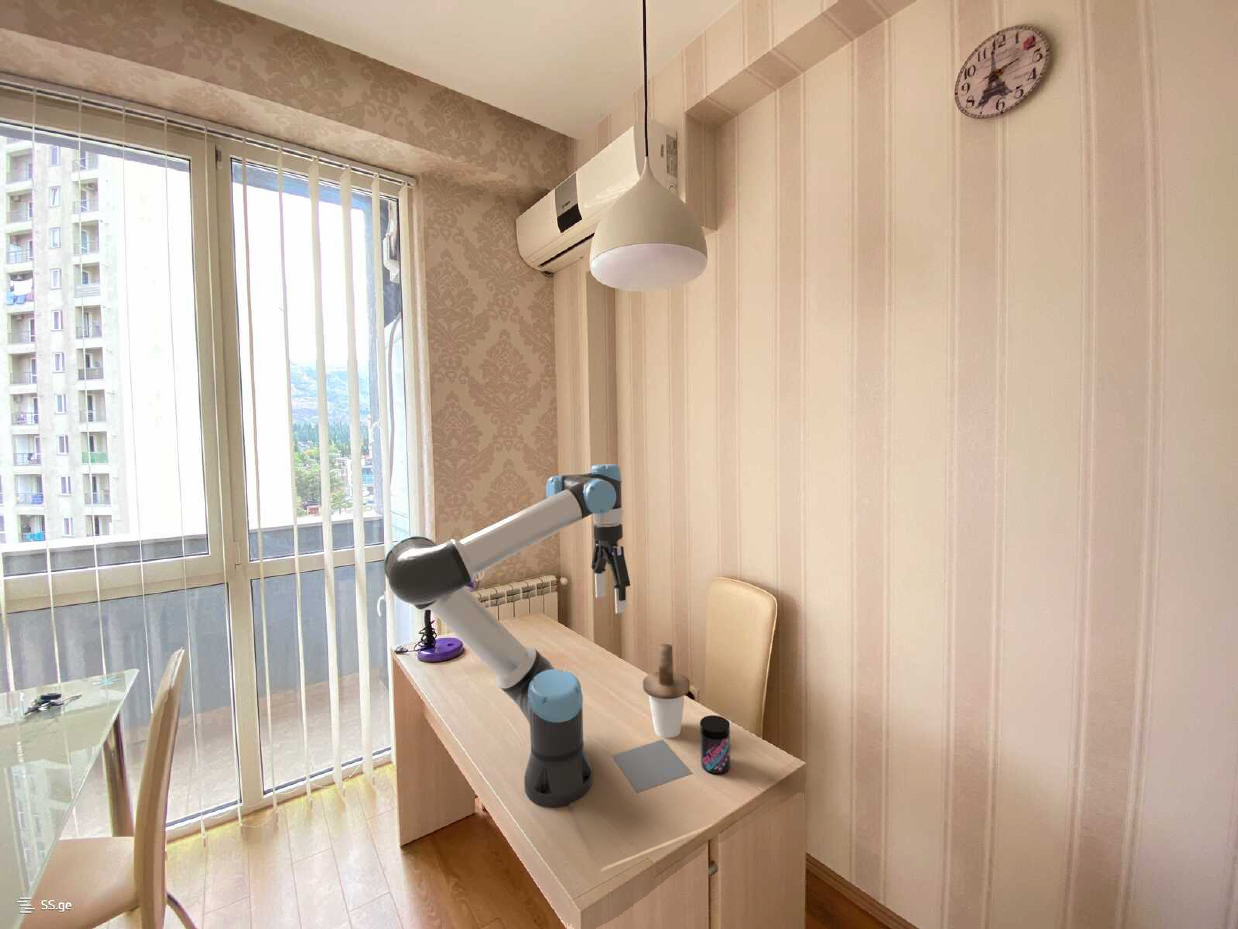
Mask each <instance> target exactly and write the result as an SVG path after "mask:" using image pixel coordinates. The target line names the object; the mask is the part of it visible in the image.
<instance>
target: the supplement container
mask: <svg viewBox="0 0 1238 929" xmlns="http://www.w3.org/2000/svg"><path fill="white" fill-rule="evenodd" d="M699 726H700V727H699V731H700V763H701V764H700V765H701V767H702V769H703V771H705V772H706V773H708V774H710V775H716V776H721V775H725V774H727V773H728V772H729V771H730V769H731V724H730V721H729V720H728V719H726V718H725V717H723V716H720V715H712V714H711V715H707V716H704V717H702V718H701V720H700V721H699Z"/></svg>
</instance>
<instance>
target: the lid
mask: <svg viewBox="0 0 1238 929" xmlns="http://www.w3.org/2000/svg"><path fill="white" fill-rule="evenodd" d="M657 647H658V648H657V649H658V652H657V653H658V654H657V655H658V656H657V657H658V671H655V672H652V673H649V674H648V675H646V676H645V677H644V679H643V680H642V689H643V691H644V693H645V694H647V695H648V696H649V695H650V696H653V697H656V698H660V699H674V698H679V697H682V696H684V697H685V696H686V695H687V694H688V693H689V692H690V689H691V682H690V679H689V678H688V677H687V676H686V675H684V674H683V673H679V672H676V671H674V666H673V665H674V663H673V662H674V661H673V658H674V657H673V654H674V653H673V652H674V651H673V646H672V645H671V644H669V643H663V644H660V645H658V646H657Z"/></svg>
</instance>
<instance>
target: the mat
mask: <svg viewBox="0 0 1238 929" xmlns="http://www.w3.org/2000/svg"><path fill="white" fill-rule="evenodd" d="M611 758H612V759H613V761H614V762H615V763H616V766H618V767H619V769H620V770H621V772H622V773H623V775H624V777H625V778H626V779H627V781H628V782H629V784H630V785H631V786H632V789H634V791H635V792H636V794H638V793H641V792H644V791H647V790H650V789H652V788H655V787H658V786H661V785H664V784H666V783H669V782H670V783H671V782H672V781H676V780H678V779H681V778H683V777H687V776H690V775H692V774H693V772H692V770H691V769H690V768H689V767H688V766H687V764H685V763H684V761H683V760H682V759H681V758H680V757H679V756H678V755H677V753H676V752H675V751H674V750H673V749H672V748H671V747H670V746H669V745H668V743H667V742H665V740H664V739H660V740H657V741H653V742H650V743H647V744H645V745H641V746H640V745H639V746H637V747H634V748H631V749H628V750H624V751H622V752H617V753H615V754H612V755H611Z"/></svg>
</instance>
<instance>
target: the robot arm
mask: <svg viewBox="0 0 1238 929" xmlns="http://www.w3.org/2000/svg"><path fill="white" fill-rule="evenodd" d="M622 483H623V482H622V475H621V468H620V466H619V465H618V464H614V463H606V464H605V463H604V464H601V463H600V464H592V465H591V470H590V472H589V473H581V474H579V473H578V474H566V475H563V474H560V475H555V476H551V477H549V478H548V480H547V482H546V485H545V492H546V493H545V494H546V498H545V499H543V500H541V501H539V502H538V503H535V504H533V505H530V506H529V507H526V508H524V509H523V510H521V511H518V512H516V513H514V514H513V515H510V516H508V517H506V518H504V519H502V520H500V521H498V522H496V523H493V524H492V525H489V526H488V527H485V528H484V529H481V530H479V531H477V532H475V533H473V534H471V535H469V536H467V537H465V538H462V539H460V540H457V539H453V538H451V539H449V540H447V541H444V542H443V543H440V544H437V543H436V542H435V541H433V540H432V539H429V538H428V537H425V536H422V535H421V536H420V535H410V536H406V537H404V538H402V539H399V540H397V541H396V542H395V543H394V544H393V545H391V547H390V548H389V550H388V551H387V553H386V556H385V559H384V563H383V567H384V568H383V569H384V573H385V576H386V577H387V579H388V584H389V587H390V589H391V590H392V592H393V595H395V596H396V597H397V598H398V599H399V600H401V601H403V602H404V603H406V604H410V605H413V606H414V607H415V608H416V609H417V610H418V611H426V610H428V611H430V612H432V613H433V615H434V616H436V617H437V618H438V619H439V620H440V621H441V622H442V623H443V624H444V625H445V626H446V627H447V628H448V629H449V630H450V631H451V632H453V635H455V636H456V637H457V638H458V639H459V640H460V641H461V642H463V644H465V645H466V646H467V647H468V648H469V649H470V650H471V651H472V652H473V653H474V654H475V655H476V656H477V657H478V658H479V659H480V660H481V661H482V662H484V664H485V665H486V666H487V667H488V668H489V669H490V670H491V671H492V672H493V673H495V674H496V684H497V686H498V687H499V688H500V690H502V691H503V692H504V693H505V694H506V695H507V696H508V697H509V698H510V699H511V700H512V701H513V702H514V703H515V704H516V706H518V708H519V709H520V711H521V712H522V714H523V715H524V717H525V719H526V720H527V722H528V725H529V735H530V737H529V739H530V755H529V758H528V761H527V765H526V769H525V772H524V777H523V779H524V780H523V781H524V783H523V784H524V792H525V794H526V796H527V798H528V799H529V800H531V802H533V803H534V804H537V805H538V806H543V807H548V808H558V807H566V806H568V805H569V806H570V805H571V804H573V803H575V802H577V801H578V800H580V799H583V797H584V796H586V794H587V793H588V792H589V791H590V789H591V787H592V785H593V780H594V778H593V777H594V776H593V775H594V774H593V766H592V764H591V761H590V759H589V756H588V753H587V751H586V748H585V746H584V745H585V744H584V715H583V714H584V713H583V709H584V708H583V701H584V699H583V698H584V697H583V696H584V695H583V692H582V684H581V683H580V681H579V679H578V677H577V676H576V675H575V674H574V673H571V672H569V671H568V670H566V671H564V670H562V669H556V668H554V666H553V665H552V663H551V662H550V660H548V659H547V658H546V657H545V656H543V655H542V654H541V653H540V652H539V651H538V650H537V649H536V648H535V647H534V646H533V645H529V644H528V645H523V644H522V643H521V642H520V640H518V639H517V638H516V636H514V635H513V634H512V632H510V631H509V630H508V628H507V627H506V626H504V624H503V623H502V622H501V621H500V620H498V619H497V617H495V615H494V614H493V613H492V612H491V611H490V610H489V609H488V608H487V607H486V606H485V605H484V604H483V603H482V602H481V601H480V600H479V599H478V598H477V597H476V596H475V595H474V594H473V593H472V592H471V591H470V590H469V589H468V588H467V586H468V585H470V584H472V583H474V580H475V577H476V575H479V573H481V572H484V571H486V570H488V569H489V568H491V567H493V566H495V565H496V564H499V563H501V562H503V561H504V560H506V559H508V558H510V557H513V556H514V555H516V554H519V553H520V552H522V551H524V550H526V549H528V548H529V547H531V546H533V545H535V544H537V543H539V542H541V541H542V540H544V539H547V538H548V537H551V536H553V535H554V534H556V533H558V532H560V531H561V530H564V529H566V528H568V527H570V526H572V525H573V524H575V523H577V522H579V521H581V520H583V519H585V518H587V517H589V516H590V515H592V522H593V524H594V525H593V539H594V548H593V555H592V560H591V569H592V570H593V573H594V582H595V587H594V588H595V598H596V599H600V598H605V597H607V587H606V573H605V572H606V566H607V564H608V565H609V566H610V569H611V573H612V577H613V580H614V582H615V585H614V586H613V588H614V598H615V599H614V605H615V608H614V610H615V614H622V613H628V612H627V610H628V608H627V587H630V586H631V581H630V575H629V571H628V567H627V563H626V559H625V552H624V551H625V549H624V546H618V541H619V540H622V538H623V537H624V534H623V531H624V530H623V524H621V523H622V522H623V513H624V510H623V509H622V503H623V502H622Z"/></svg>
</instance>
